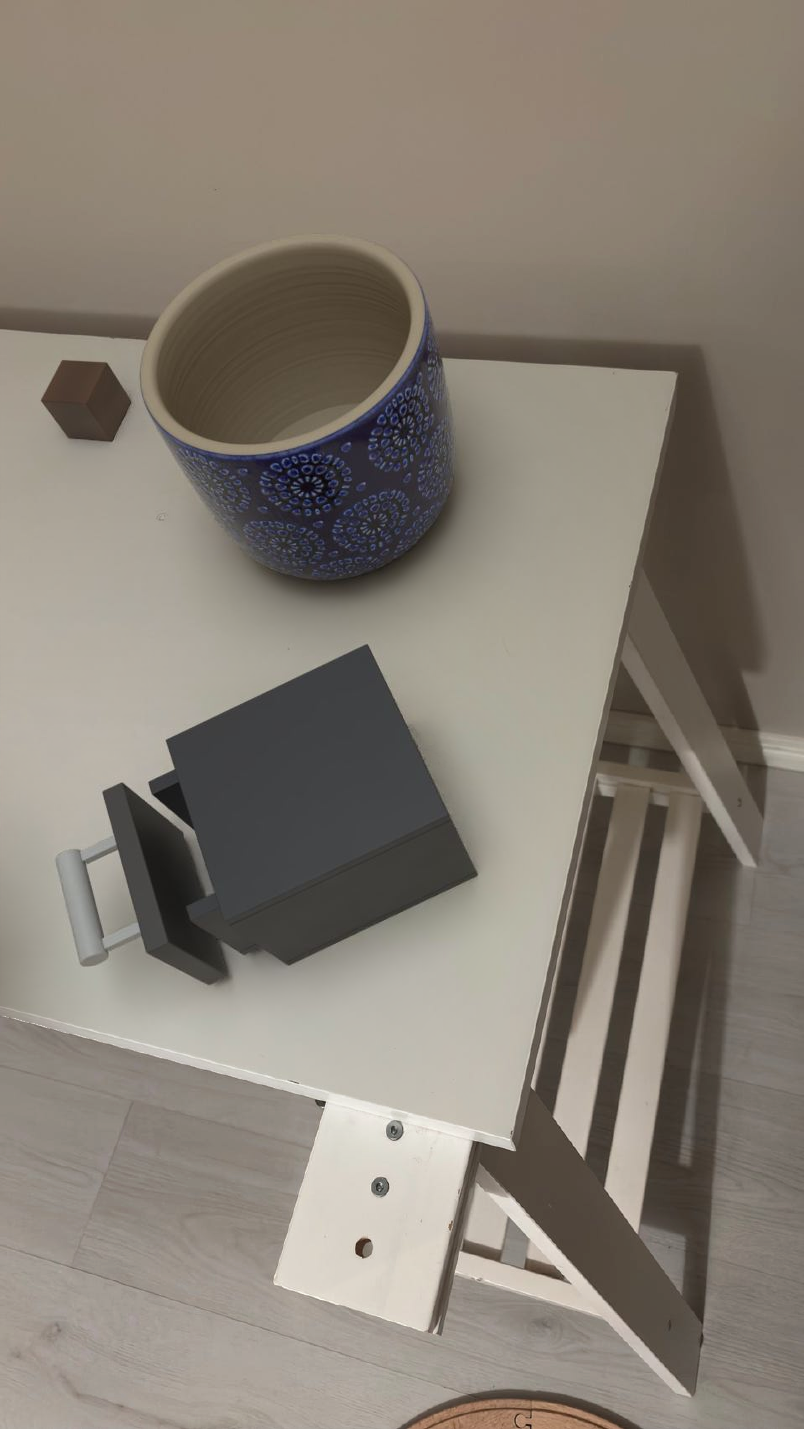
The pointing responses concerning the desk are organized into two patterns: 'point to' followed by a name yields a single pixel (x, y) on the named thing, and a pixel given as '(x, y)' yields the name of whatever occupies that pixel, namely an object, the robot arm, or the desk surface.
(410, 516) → the planter
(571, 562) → the desk surface
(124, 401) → the walnut block
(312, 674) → the cabinet
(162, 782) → the drawer
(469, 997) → the desk surface
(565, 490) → the desk surface
